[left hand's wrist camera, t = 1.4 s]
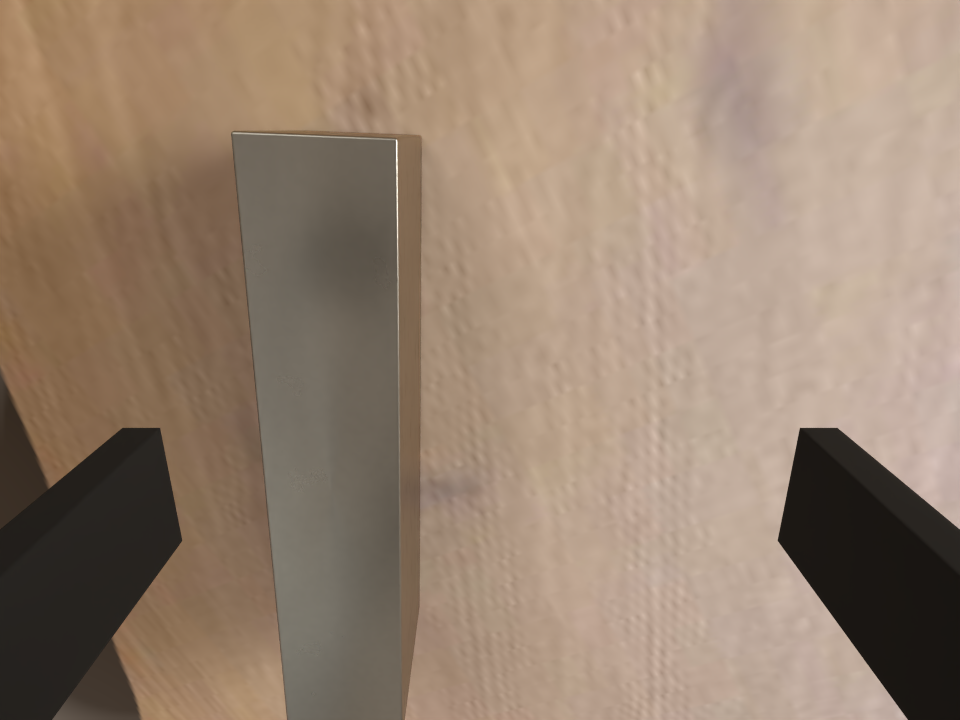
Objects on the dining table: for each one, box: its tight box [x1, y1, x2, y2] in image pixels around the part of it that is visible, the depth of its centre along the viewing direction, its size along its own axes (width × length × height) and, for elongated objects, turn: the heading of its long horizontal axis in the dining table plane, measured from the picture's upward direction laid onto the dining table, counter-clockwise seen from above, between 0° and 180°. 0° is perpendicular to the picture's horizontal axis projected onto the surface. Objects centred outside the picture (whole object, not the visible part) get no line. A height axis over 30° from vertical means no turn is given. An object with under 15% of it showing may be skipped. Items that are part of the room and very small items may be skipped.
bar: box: [231, 131, 422, 720], centre depth 27 cm, size 26×5×8 cm, turn 178°
